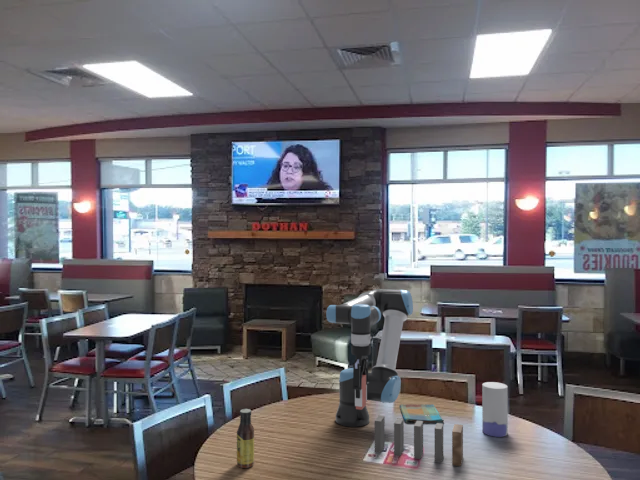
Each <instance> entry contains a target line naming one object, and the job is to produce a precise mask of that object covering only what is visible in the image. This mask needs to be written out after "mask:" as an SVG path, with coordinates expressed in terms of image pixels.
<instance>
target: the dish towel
mask: <svg viewBox="0 0 640 480" xmlns="http://www.w3.org/2000/svg"><path fill="white" fill-rule="evenodd" d="M400 408H401V410H400V412H401V415H402V419H404V422H405V423H406V424H415V423H416V421H417V420H418V421H423V423H435V424H434V425H436V424H437V423H442V424H443V425H444V424H445V422H444V420H445V419H443V418H442V415H441V414H440V412H439V411H438V409H437V408H436V406H435V405H434V404H433V403H432V404H428V403H427V404H423V403H422V404H413V403H411V404H404V403H403V404H402V403H401V404H399V409H400ZM425 415H427V416H425ZM428 415H429V416H428Z"/></svg>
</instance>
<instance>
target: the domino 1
mask: <svg viewBox="0 0 640 480" xmlns="http://www.w3.org/2000/svg"><path fill="white" fill-rule="evenodd" d="M385 417H386V416H384V415H378V416H377V417H376V418H375V419H374V453H377V454H382V452H383V450H384V449H385V439H386V438H385V436H386V435H385V432H386V431H385V426H386V425H385V424H386V423H385Z"/></svg>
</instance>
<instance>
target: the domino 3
mask: <svg viewBox="0 0 640 480" xmlns="http://www.w3.org/2000/svg"><path fill="white" fill-rule="evenodd" d="M423 454H424V424H423V421H418V420H417V421H416V423H414V425H413V458H414V459H418V460H421V459H422V457H423Z"/></svg>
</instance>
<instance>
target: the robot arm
mask: <svg viewBox="0 0 640 480" xmlns="http://www.w3.org/2000/svg"><path fill="white" fill-rule="evenodd" d="M413 312H414V303H413V295H412V293H411V292H410V291H409V290H405V289H390V288H389V289H388V288H376V289H371V290H368V291H365V292H362V293H361V294H359V295H358V297H356V298H354V299H350V300H349V301H347V302H344V303H342V304H338V305H337V304H330V305H328V307H326V311H325V313H326V320H327V322H328V323H333V324H346V325H351V329H350V330H351V332H350V335H351V337H350V343H351V346H350V347H351V348H350V349H351V351H350V352H351V353H350V354H351V355H352V356H355V359H354V363H352V367H349V368H348V367H347V368H345V369H343V370H341V371H340V373H339V379H338V383H339V385H338V387H339V388H338V389H339V391H338V392H339V394H338V395H339V403H338V407H337V410H336V413H335V422H336V423H337V424H338V425H340V426H344V427H351V428H352V427H354V428H356V427H362V426H366V425H368V424H369V423H370V413H369V411H368V408H367V405H366V406H365V407H364V408H363V409H362V410H360V409H356V406H359V407H362V389H361V386H362V375H366V403H367V402H368V401H370V402H371V401H373V402H379V403H383V404H387V403H388V404H391V403H394V402H395V401H397V398H398V397H399V395H400V391H401V387H402V386H401V385H402V384H401V383H402V380H401V377H400V376H399V373H398V371H397V370H396V367H397V360H398V355H399V350H400V349H399V348H400V342H401V338H402V337H401V336H402V331H403V325H404V322H406V321H407V320H408V316H411V315H413ZM382 315H383V317H384V323H383V328H382V334H381V339H380V344H379V349H378V353H377V354H378V355H377V359H376V364H375V365H374V366H373V367H371V372H369V356H370V355H371V350H372V349H371V348H372V347H371V345H370V344H371V340H372V337H373V336H371V331H372V330H371V328H372V327H371V326H374V325H376V324H377V323H379V321H381V318H382Z"/></svg>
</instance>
